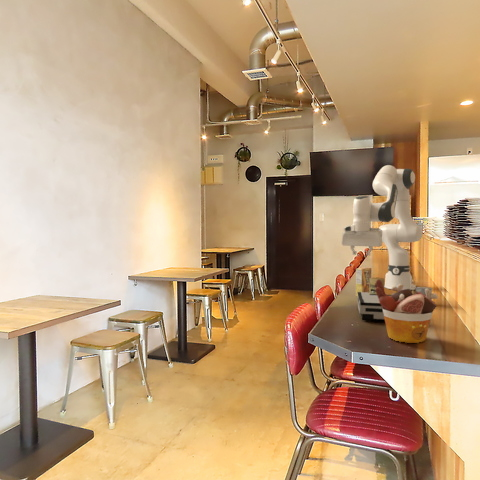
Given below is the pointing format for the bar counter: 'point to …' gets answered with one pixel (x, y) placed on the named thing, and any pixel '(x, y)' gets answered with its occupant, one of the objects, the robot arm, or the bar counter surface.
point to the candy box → (363, 279)
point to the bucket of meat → (406, 313)
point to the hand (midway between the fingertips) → (361, 255)
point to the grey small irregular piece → (423, 290)
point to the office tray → (369, 306)
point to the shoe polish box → (372, 285)
